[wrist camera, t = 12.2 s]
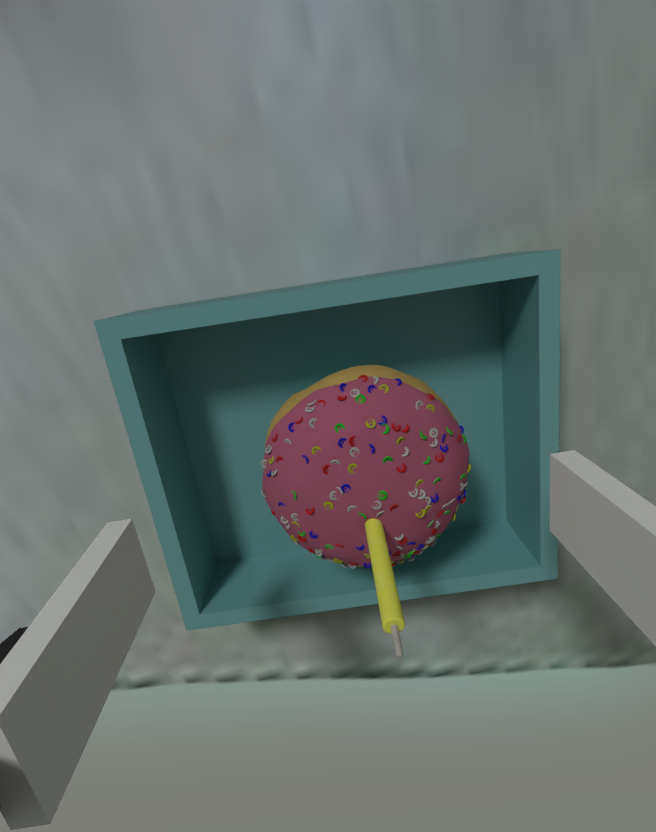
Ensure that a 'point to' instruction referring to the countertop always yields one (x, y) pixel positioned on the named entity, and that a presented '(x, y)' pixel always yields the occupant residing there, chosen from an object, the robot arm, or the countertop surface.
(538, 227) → the countertop surface
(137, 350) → the tub
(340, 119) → the countertop surface
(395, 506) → the cupcake
